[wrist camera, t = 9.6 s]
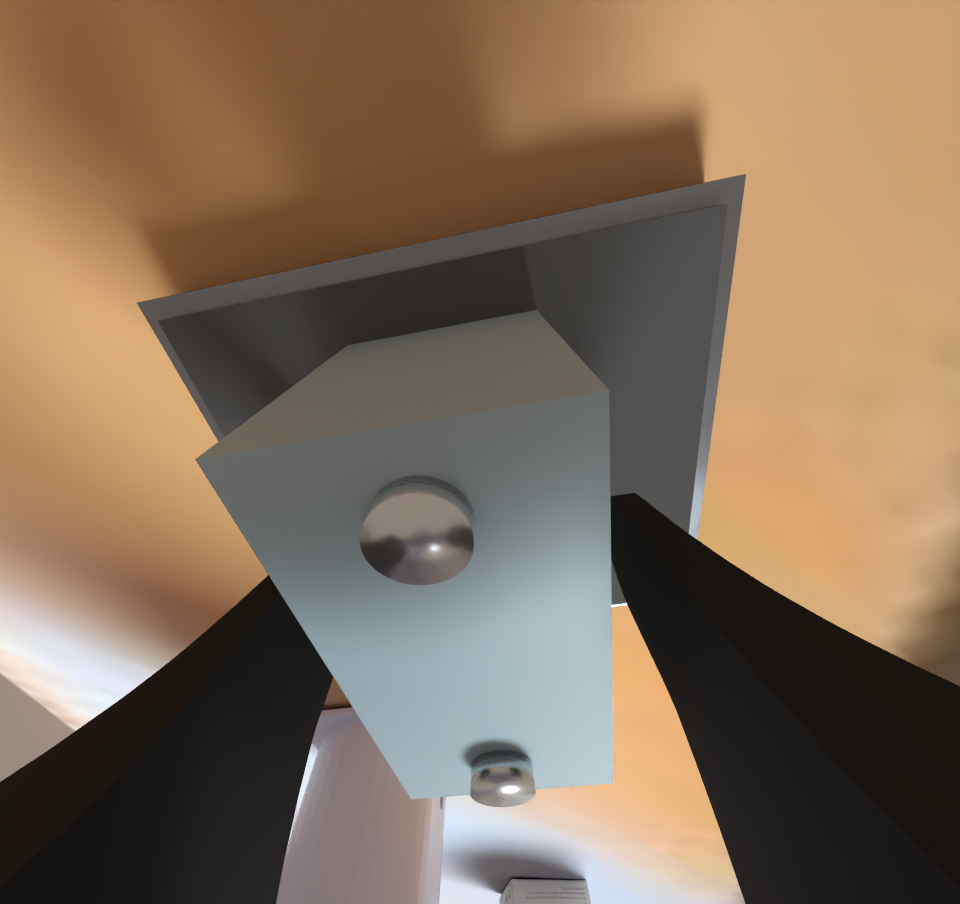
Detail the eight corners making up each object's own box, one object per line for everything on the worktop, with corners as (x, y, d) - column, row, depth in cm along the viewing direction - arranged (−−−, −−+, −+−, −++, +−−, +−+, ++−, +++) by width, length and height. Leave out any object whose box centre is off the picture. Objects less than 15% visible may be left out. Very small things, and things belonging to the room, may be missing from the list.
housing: (563, 584, 14) (620, 810, 8) (435, 600, 15) (407, 827, 9) (536, 309, 9) (625, 406, 4) (347, 345, 10) (165, 481, 4)
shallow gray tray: (670, 565, 16) (693, 603, 15) (347, 606, 18) (332, 646, 16) (705, 185, 10) (754, 171, 8) (183, 295, 11) (127, 304, 9)
